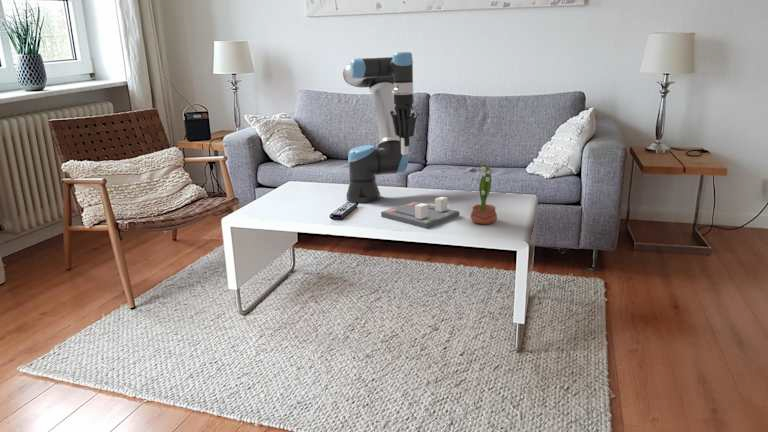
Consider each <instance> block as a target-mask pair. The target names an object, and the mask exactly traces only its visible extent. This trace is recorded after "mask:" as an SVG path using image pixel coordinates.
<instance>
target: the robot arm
mask: <svg viewBox="0 0 768 432" xmlns="http://www.w3.org/2000/svg"><path fill="white" fill-rule="evenodd" d="M350 60H351V61H350V63H349V64H347V65H346V66H345V67H344V69H343V72H342V76H343V79H344V81H345V83H346V84H348V85H350V86H352V87H355V88H360V89H361V88H369V92H370V93H371V94H373V100H374V107H375V112H376V113H375V114H376V122H377V123H376V124H377V127H378V128H377V130H378V135H379V143H377V147H375V146H374V145H371V144H369V145H367V144H366V145H360V146H355V147H352V149H350V150H349V151H348V156H347V157H348V160H347V162H348V174H349V175H348V176H349V184H348V189H347V192H346V201H348V202H350V201H351V203H355V202H358V203H357V204H361V203H362V204H363V203H365V204H366V203H373V202H376V201H378V200H380V199H381V192H380V190H379V187H378V184H377V177H376V176H377V175H379V176H380V175H391V174H392V175H394V174H395V175H396V174H401V173H405V172H406V171H407V169H408V165H409V155H410V154H409V151H410V150H409V147H410V138H412V137H414V135H415V133H414V132H415V127H416V120H417V118H418V116H419V113H418V112H417V111H414V107H413V104H414V94H413V93H414V79H413V77H414V76H413V75H414V73H413V71H414V69H413V68H414V67H413V65H414V64H413V63H414V60H413V53H412V52H410V51H400V52H394V53H393V54H392V56H391V57H371V58H370V57H365V58H352V59H350ZM393 93H394V95H393Z"/></svg>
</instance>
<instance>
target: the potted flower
mask: <svg viewBox="0 0 768 432" xmlns="http://www.w3.org/2000/svg"><path fill="white" fill-rule="evenodd" d="M482 161H483V162H482ZM479 163H482V164H481V165H480V166H479V167H478V169H477V173H480V174H479V175H478V177H480V176H481V178H477V180H476V183H478V184H479V186H478V188H479V189H478V191H479V197H480V204H476V205H473V206H471V207H472V212H471V214H470V219H471V221H472V222H473V223H476V224H479V225H489V224H493V223H495V222H496V220H498V215H497V212H496V207H495V206H494V205H491V204H486V203H487V199H488V196H489V194H490V192H491V190H492V189H491V187H492V171H491V169H490V167H489V165H487V164H486V165H485V160H484V158H482V159H481V160H480V161H479Z"/></svg>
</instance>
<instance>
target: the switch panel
mask: <svg viewBox="0 0 768 432" xmlns="http://www.w3.org/2000/svg"><path fill="white" fill-rule="evenodd" d="M421 203H422V202H420V201H415V200H413V201H412V202H407V203H405V204H402V205H399V206H395V207H393V208H389V209H386V210H383V211H381V212H380V214H381V218H385V219H388V220H392V221H396V222H399V223H403V224H407V225H411V226H415V227H419V228H423V229H429V228H432V227H435V226H437V225H440V224H443V223H445V222H449V221H451V220H454V219H455V218H459V217H460V211H459V210H454V209H451V208H447V210H446V211H443V212H438V211H435V205H432V204H428V217H426V218H423V219H418V218H415V205H418V204H421Z"/></svg>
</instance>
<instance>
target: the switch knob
mask: <svg viewBox="0 0 768 432" xmlns="http://www.w3.org/2000/svg"><path fill="white" fill-rule="evenodd" d="M434 206H435V211H438V212H443V211H446V210H447V209H448V197H446V196H440V197H436V198H435V199H434Z"/></svg>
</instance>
